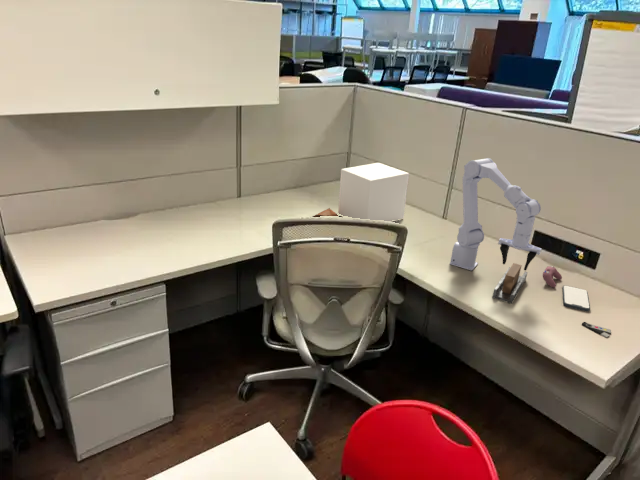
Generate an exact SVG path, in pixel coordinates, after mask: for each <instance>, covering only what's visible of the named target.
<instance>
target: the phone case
mask: <svg viewBox="0 0 640 480" xmlns="http://www.w3.org/2000/svg"><path fill="white" fill-rule="evenodd" d="M561 289H562V290H561V291H562V304H563V306H564V307H566V308H568V309H569V308H570V309H572V310H577V311H582V312H586V313H587V312H588V313H589V312H590V311H591V303H590V298H589V294H588V293H589V292H588V291H587V290H586V289H584V288H579V287H574V286H569V285H562V287H561Z"/></svg>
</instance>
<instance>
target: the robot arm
mask: <svg viewBox="0 0 640 480" xmlns="http://www.w3.org/2000/svg"><path fill="white" fill-rule="evenodd" d="M497 165H498V164H497V163H496V162H494V160H493V159H492V158H490V157H486V158H481V159H475V160H474V159H472V160H468V162H467V163H466V164H465V165H464V166H463V169H464V170H463V171H464V173H463V176H462V203H463V204H462V205H463V208H462V209H463V223H462V224H461V225H460V226H459V228H458V234H457V236H456V240H457V241H455V242H454V244H453V247H452V252H451V255H450V256H451V257H450V262H449V265H451V266H454V267H459V268H462V269H465V270H468V271H474V269H475V268H476V266H477V265H478V264H479V263H478V262H477V261H476V259H477V256H478V250H479V246H480V245H481V243H482V242H483V241H484V239H485V233H484V230H483V225H482V224H481V223H480V222H479V215H478V214H479V207H478V205H479V203H478V201H479V200H478V183H479V182H480V181H481V180H482V179H483V178H484V179H489V180H491V182H493V183H494V184H495V185H496V186H497V187H498V188H500V189H501V190H502V191H503V192H504V193H503V196H504V198H505V199H506V200H507V201H508V202H509V204H511V205H512V206H513V207H514V208H515V213H516V223H515V227H514V231H513V235H512V239H509V238H502V237H500V238H499V239H498V243H497V244H498V245H500V247H499V249H500V253H501V257H502V265H506V263H507V259H508V254H509V250H510V248H513V249H516V250H522V251H525V252H526V251H527V252H528V253H527V256H526V261H525V265H524V268H523V271H527V269H528V267H529V265H530V263H531V262H532V260H534V258H535V257H537V255H538V256H540V255H541V252H542V248H541V247H538V246H535V245H533V244H530V241H531V236H532V232H533V229H534V224H535V220H536V216H537V215H539V214H540V213H541V209H542V208H541V204H540V203H539V201H538V200H537V199H533V198H531V197H530V196H529V195H527V194H526V193H525V192H524V191H523V190H522V187H521V186H519V185H515V184H514V185H513V184H512V183H510V181H509V180H508V179H507V178H506V176H505V175H504V174H503V173H502V172H501V171H500V169H499V168H498V166H497Z"/></svg>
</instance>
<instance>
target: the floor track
mask: <svg viewBox="0 0 640 480" xmlns="http://www.w3.org/2000/svg"><path fill="white" fill-rule="evenodd" d="M510 268H511V266H509V267H508V268H507V269H506V271H505V273H504V274H503V275H502V277H501V278H500V279H499V281H498V283H497V284H496V285H495V287H494V289H493V291H492V298H493V299H496V300H499V301H503V302H505V303H509V304H513V303H514V301H515V299H516V298H517V296H518V294H519V292H520V290H522V289H521V288H522V287H523V285H524V284H525V282H526V281H527V276H528V273H529V272H528V271H524V272H523V274H522V275H519V278H518V282H517V284H516V285H515V287H514V289H513V290H512V292H511V294H508V293H505V292H502V289H503V285H504V280H505V276H506V274H507V272H508V271H509V269H510Z"/></svg>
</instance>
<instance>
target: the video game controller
mask: <svg viewBox="0 0 640 480" xmlns="http://www.w3.org/2000/svg"><path fill="white" fill-rule="evenodd" d="M542 278H543V280H544V281H545V282H546V284H547V285H548V286H549V287H550V288H553V289H554V288H556V287H557V284H556V282H555V280H558V281H561V280H562V278H563V277H562V274H561V273H560V272H559V271H558V269H557V268H556V267H555V265H554V266H552V265H549V266H547V267H545V269H544V271H542ZM554 278H555V280H554Z"/></svg>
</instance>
